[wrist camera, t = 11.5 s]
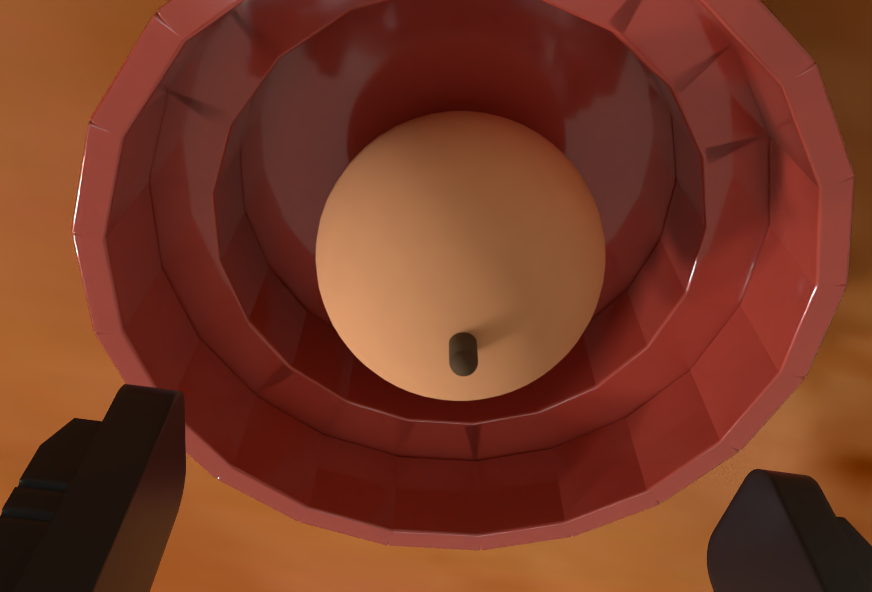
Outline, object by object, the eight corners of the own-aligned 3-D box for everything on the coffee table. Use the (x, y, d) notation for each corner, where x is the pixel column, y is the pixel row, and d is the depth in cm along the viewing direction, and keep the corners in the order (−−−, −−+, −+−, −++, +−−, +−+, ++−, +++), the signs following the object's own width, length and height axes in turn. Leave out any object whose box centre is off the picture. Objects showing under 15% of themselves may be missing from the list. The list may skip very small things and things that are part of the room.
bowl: (68, 212, 19) (-48, 342, 15) (417, -334, 13) (403, -397, 9) (478, 465, 24) (486, 620, 20) (869, 153, 18) (1010, 275, 14)
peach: (285, 206, 19) (218, 385, 13) (443, 13, 16) (443, 133, 10) (468, 333, 21) (477, 534, 15) (633, 180, 18) (718, 354, 13)
